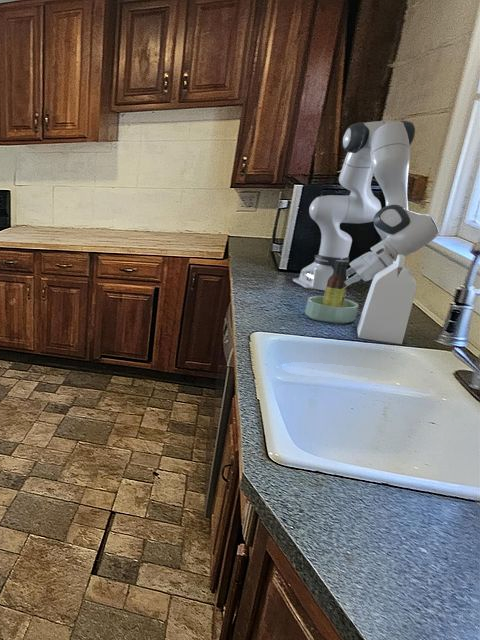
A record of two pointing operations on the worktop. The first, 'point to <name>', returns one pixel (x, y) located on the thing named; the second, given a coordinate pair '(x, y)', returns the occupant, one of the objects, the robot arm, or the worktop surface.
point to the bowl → (331, 311)
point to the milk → (388, 304)
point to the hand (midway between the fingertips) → (343, 281)
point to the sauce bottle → (336, 285)
